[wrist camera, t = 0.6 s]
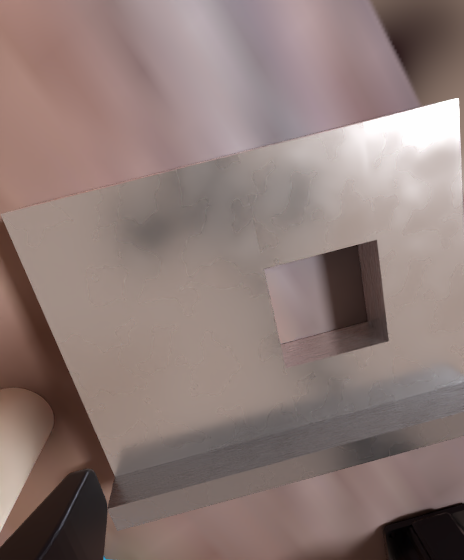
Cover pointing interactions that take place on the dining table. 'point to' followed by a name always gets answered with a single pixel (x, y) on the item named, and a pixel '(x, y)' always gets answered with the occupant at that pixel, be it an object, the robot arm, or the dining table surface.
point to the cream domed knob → (20, 441)
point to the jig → (258, 310)
